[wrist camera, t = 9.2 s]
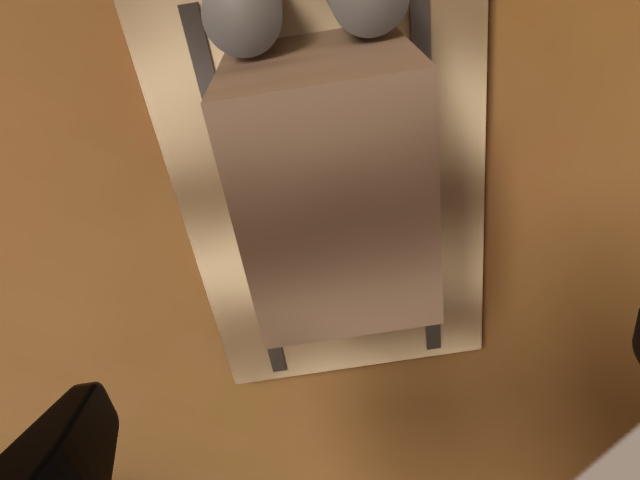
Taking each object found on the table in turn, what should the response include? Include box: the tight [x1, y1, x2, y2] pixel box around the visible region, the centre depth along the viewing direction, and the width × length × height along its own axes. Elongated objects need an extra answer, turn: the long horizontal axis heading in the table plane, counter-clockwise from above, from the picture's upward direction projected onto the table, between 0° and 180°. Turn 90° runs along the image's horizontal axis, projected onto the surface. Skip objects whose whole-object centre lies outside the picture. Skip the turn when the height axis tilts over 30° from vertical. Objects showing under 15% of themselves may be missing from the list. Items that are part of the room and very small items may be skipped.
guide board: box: [113, 0, 488, 384], centre depth 18 cm, size 17×11×4 cm, turn 8°
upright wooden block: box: [200, 27, 444, 349], centre depth 15 cm, size 7×5×6 cm
